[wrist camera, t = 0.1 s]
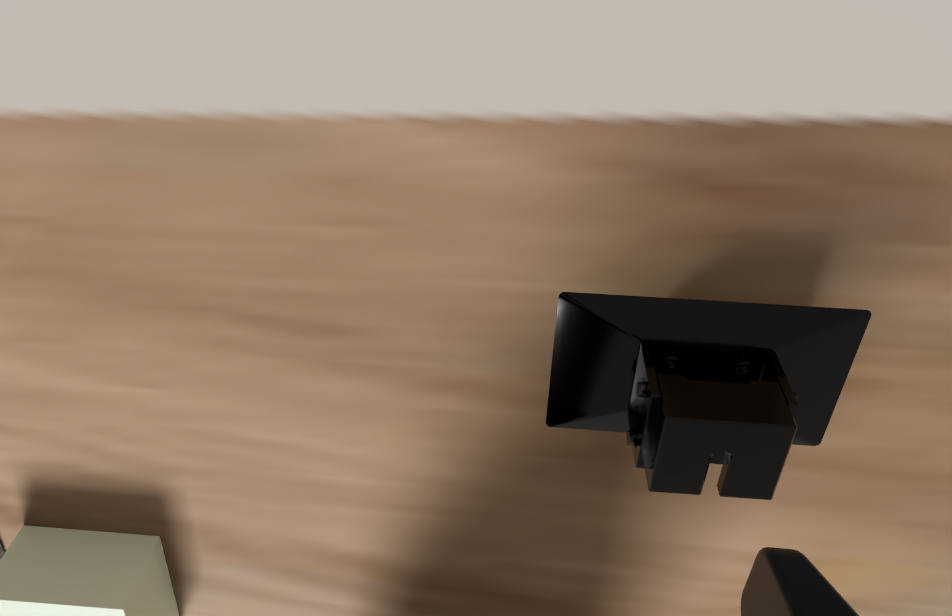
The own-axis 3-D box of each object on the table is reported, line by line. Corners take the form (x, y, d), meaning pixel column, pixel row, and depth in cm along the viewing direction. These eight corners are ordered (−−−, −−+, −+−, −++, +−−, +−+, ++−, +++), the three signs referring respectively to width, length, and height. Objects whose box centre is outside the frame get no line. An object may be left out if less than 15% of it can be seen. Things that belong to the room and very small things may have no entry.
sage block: (182, 617, 35) (149, 695, 32) (58, 607, 35) (14, 684, 32) (161, 532, 32) (123, 609, 29) (26, 521, 32) (-26, 597, 29)
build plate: (499, 427, 28) (492, 528, 24) (512, 248, 24) (507, 335, 20) (850, 454, 28) (901, 561, 24) (923, 277, 24) (997, 371, 20)
